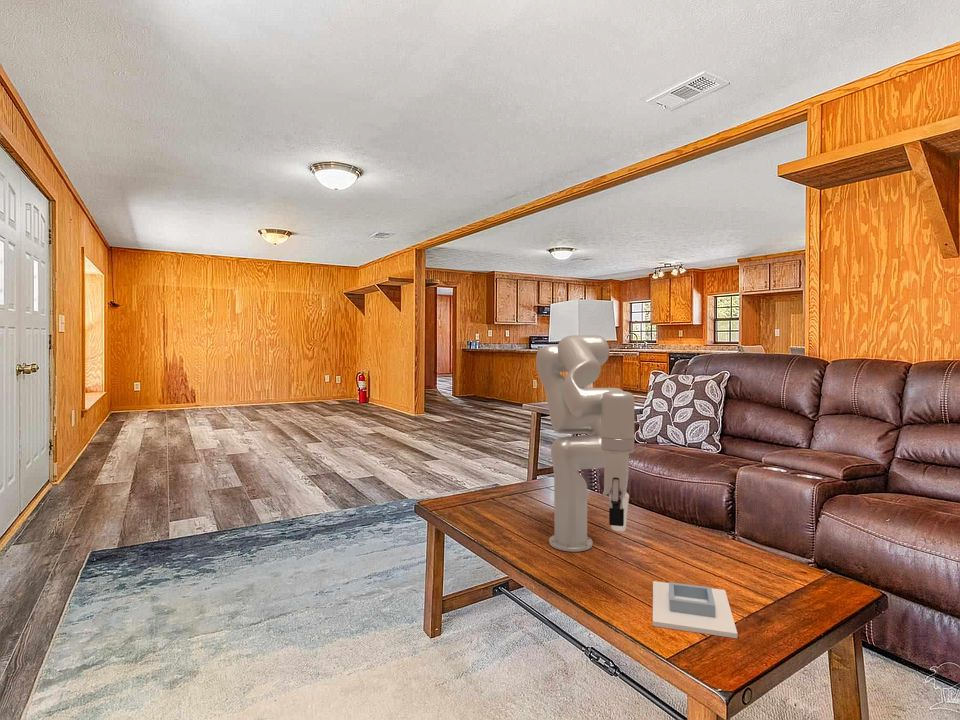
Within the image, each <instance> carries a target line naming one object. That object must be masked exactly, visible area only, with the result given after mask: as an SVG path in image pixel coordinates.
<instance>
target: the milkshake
mask: <svg viewBox="0 0 960 720" xmlns="http://www.w3.org/2000/svg"><path fill="white" fill-rule="evenodd" d="M612 494H613V492H612ZM618 495H621V493H620V492H619V494H618ZM608 496H609V500H608V501H610V492H609V494H608ZM619 499H620V498H619ZM629 499H630V495H629V493H628V492H627V491H626V494H625V496H623V508H624V525H623V526H614V525H610V527H611V530H613V532H615V531H616V532H626V529H627V520H628V519H627V518H628V508H629V501H630V500H629Z"/></svg>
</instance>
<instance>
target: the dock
mask: <svg viewBox="0 0 960 720" xmlns="http://www.w3.org/2000/svg"><path fill="white" fill-rule="evenodd" d="M652 627H656V628H664V629H671V630H676V631H684V632H689V633H699V634H705V635H711V636H716V637H718V636H719V637H724V638H731V639H736V640H737V639H738V630H737V627H736V624H735V620H734V616H733V614H732V610H731V606H730V602H729V599H728V596H727V592H726V589H721V588H713V587H710V586H703V585H697V584H696V585H694V584H686V583H677V582H670V581H669V582H664V581H656V580H653V581H652Z"/></svg>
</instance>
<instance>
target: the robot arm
mask: <svg viewBox="0 0 960 720" xmlns="http://www.w3.org/2000/svg"><path fill="white" fill-rule="evenodd" d="M535 357H536V358H535V359H536V360H535V363H536V372H537V374H538V377H539V380H540V382H541V384H542V386H543V389H544V391H545V395H546V401H547V407H548V413H549V418H550V425H551V428H552V429H553V431H554V432H555V433H556V434H561V435H564V434H565V435H566V436H561V437H558V438H556V439H554V440H553V441H552V443H551V447H550V455H551V462H552V469H553V489H554V490H553V491H554V493H553V495H554V497H553V499H554V500H553V501H554V502H553V504H554V505H553V506H554V507H553V508H554V509H553V511H554V513H553V514H554V516H553V517H554V518H553V519H554V525H553V527H554V531H553V532H554V534H553V535H552V536H550V537H549V538H548V539H549V540H548V543H549V546H551V547H552V548H553V549H556V550H559V551H564V552H569V553H570V552H572V553H573V552H574V553H575V552H584V551H588V550H590V549H591V548H592V547H593V544H594V541H593V540H592V538H591V537H589V536H588V484H587V482H586V480H585V478H584V477H583V475H581V474H580V472H579V471H580V470H588V469H589V470H590V469H603V468H604V469H603V470H604V472H603V473H604V474H603V475H604V476H603V495H604V496H607V495H609V492H610V500H609V509H608V511H609V514H608V516H609V517H608V518H609V519H608V524H609V525H610V526H611V525H614V526H623V525H624V508H623V496H625V494H626V492H627V490H628V483H629V471H630V470H629V468H630V467H629V466H630V465H629V464H630V460H629V459H630V456H629V455H630V454H632V453H634V452H635V396H634V394H633V393H632V392H630V391H624V390H623V389H621V388H618V387H589V388H588V387H587V386H590V385H591V384H592V383H595V382H596V380H598V378H599V377H600V375H601V371H602V368H601V367H602V366H603V365H604V364H605V363H607V361H608V359H609V357H610V347H609V344H608V341H607V340H606V339H605V338H604V337H603V336H601V335H595V334H594V335H591V334H589V335H585V334H583V335H582V334H581V335H580V334H577V335H576V334H574V335H573V334H572V335H567V336H564V337H562V339H560V341H559V342H558V344H548V345H544V346H542V347H540V348H539V350H538V351H537V353H536V356H535ZM561 373H567V374H566V375H565V376H563V375H562V374H561ZM569 434H570V435H571V434H572V435H571V436H569ZM573 434H574V435H573ZM576 434H579V435H576ZM580 434H586V435H580ZM567 435H568V436H567ZM612 492H613V494H612ZM619 492H620V493H621V495H618V494H619ZM619 498H620V499H619Z"/></svg>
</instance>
